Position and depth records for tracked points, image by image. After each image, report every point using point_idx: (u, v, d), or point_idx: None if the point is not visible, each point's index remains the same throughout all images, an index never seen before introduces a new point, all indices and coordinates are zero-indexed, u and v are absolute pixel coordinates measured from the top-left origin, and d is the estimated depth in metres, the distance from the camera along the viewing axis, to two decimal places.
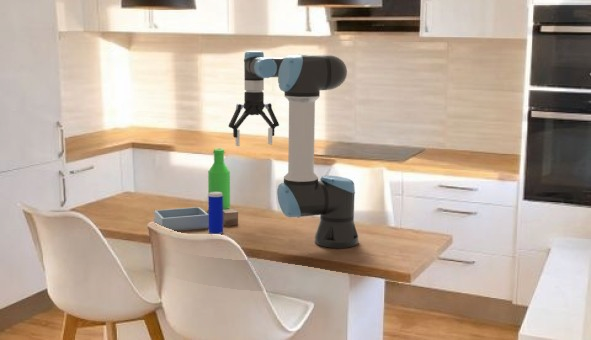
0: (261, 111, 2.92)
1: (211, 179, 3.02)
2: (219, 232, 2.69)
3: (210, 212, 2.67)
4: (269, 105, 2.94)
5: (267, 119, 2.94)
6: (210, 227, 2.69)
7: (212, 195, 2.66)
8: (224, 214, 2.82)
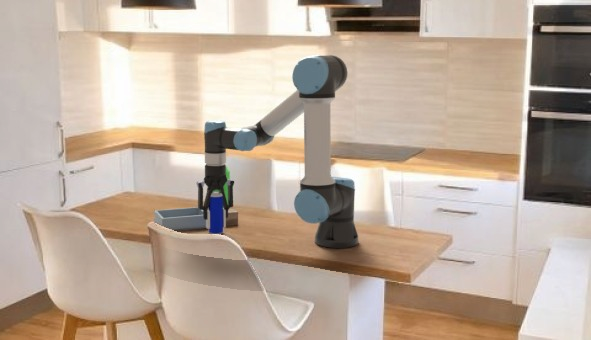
0: (221, 187, 2.67)
1: None
2: (219, 232, 2.69)
3: (210, 212, 2.67)
4: (231, 182, 2.69)
5: (224, 198, 2.69)
6: (210, 227, 2.69)
7: (212, 195, 2.66)
8: None
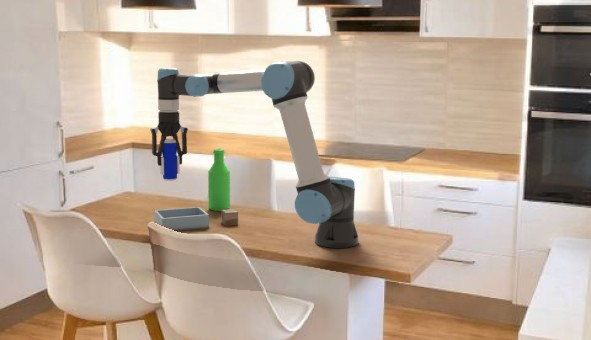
0: (175, 133, 2.72)
1: (211, 179, 3.02)
2: (173, 178, 2.74)
3: (164, 158, 2.73)
4: (185, 129, 2.74)
5: (177, 144, 2.74)
6: (164, 173, 2.74)
7: (165, 141, 2.72)
8: (224, 214, 2.82)
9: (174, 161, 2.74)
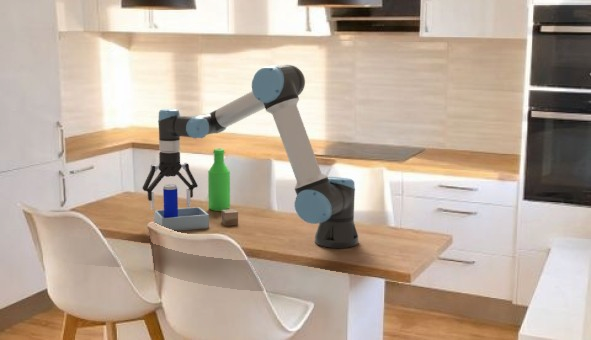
0: (177, 172, 2.75)
1: (211, 179, 3.02)
2: None
3: (165, 204, 2.76)
4: (186, 165, 2.77)
5: (184, 180, 2.77)
6: None
7: (166, 188, 2.75)
8: (224, 214, 2.82)
9: (175, 207, 2.77)
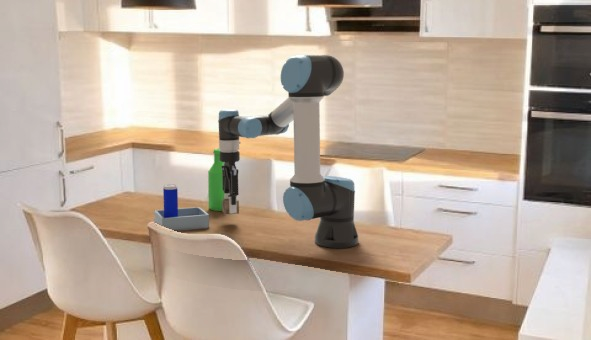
0: (226, 173, 2.79)
1: (211, 179, 3.02)
2: None
3: (165, 204, 2.76)
4: (231, 171, 2.76)
5: (229, 184, 2.79)
6: None
7: (167, 188, 2.75)
8: (225, 203, 2.81)
9: (175, 207, 2.77)
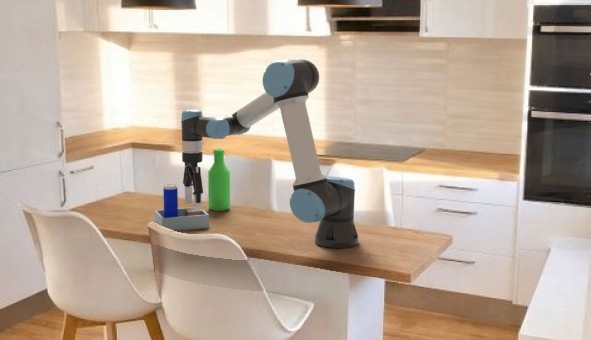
0: (189, 173, 2.76)
1: (211, 179, 3.02)
2: None
3: (165, 204, 2.76)
4: None
5: (193, 183, 2.75)
6: None
7: (167, 188, 2.75)
8: (187, 213, 2.80)
9: (175, 207, 2.77)
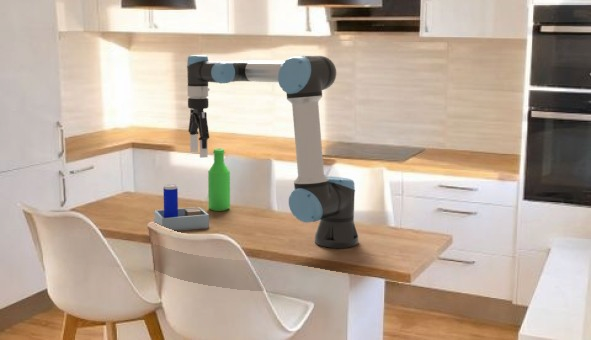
0: (195, 119, 2.74)
1: (211, 179, 3.02)
2: None
3: (165, 204, 2.76)
4: (199, 114, 2.70)
5: (199, 129, 2.72)
6: None
7: (167, 188, 2.75)
8: (187, 213, 2.80)
9: (175, 207, 2.77)
